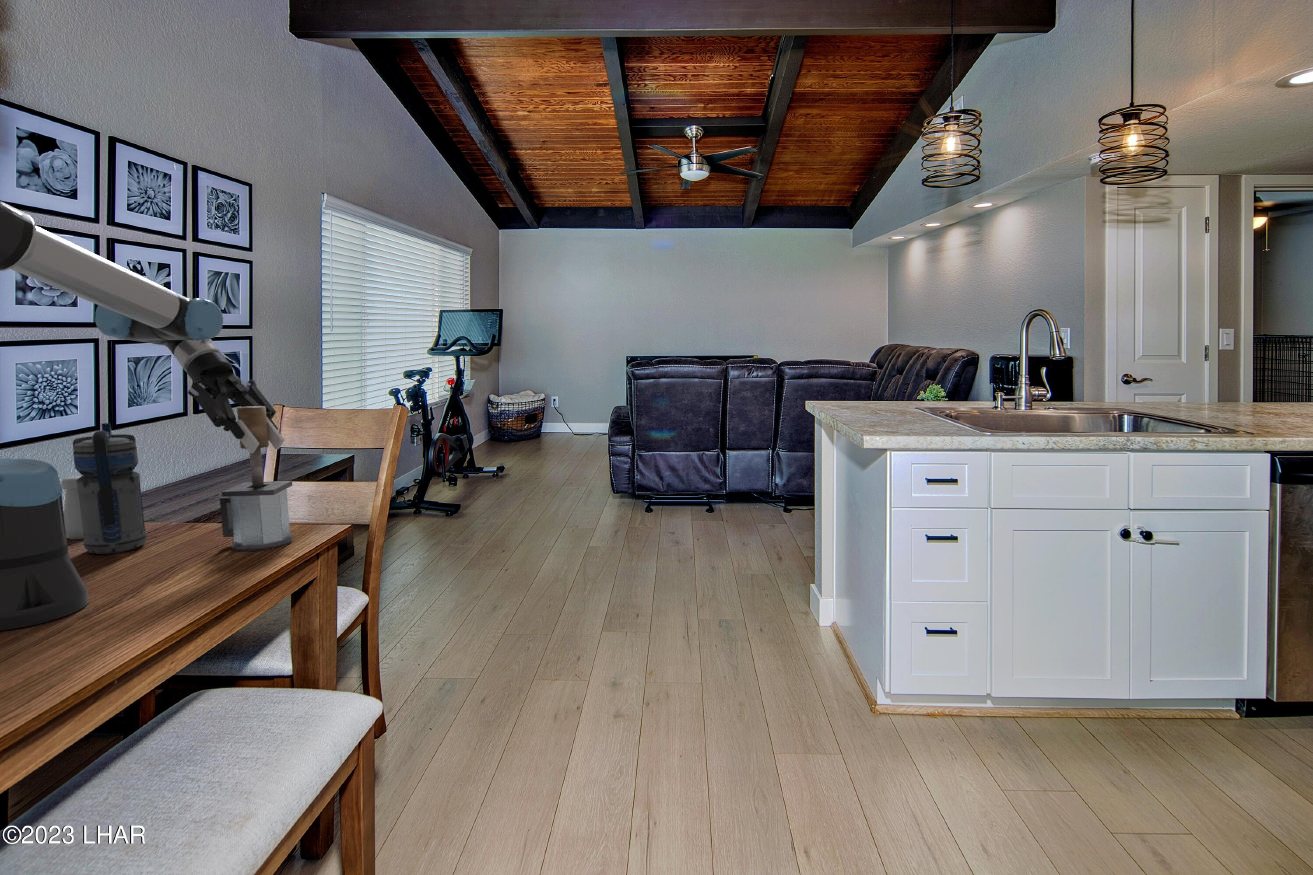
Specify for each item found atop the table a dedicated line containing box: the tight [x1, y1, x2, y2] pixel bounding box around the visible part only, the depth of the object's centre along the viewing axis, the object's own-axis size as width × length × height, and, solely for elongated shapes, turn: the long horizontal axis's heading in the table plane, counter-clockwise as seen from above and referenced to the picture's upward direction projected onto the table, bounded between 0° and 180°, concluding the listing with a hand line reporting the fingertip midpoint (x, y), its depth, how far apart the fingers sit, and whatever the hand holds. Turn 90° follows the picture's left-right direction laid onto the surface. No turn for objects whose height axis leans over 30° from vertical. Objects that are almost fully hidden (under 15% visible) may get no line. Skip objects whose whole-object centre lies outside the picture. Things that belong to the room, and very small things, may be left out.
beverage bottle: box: [72, 422, 147, 555], centre depth 145 cm, size 10×13×25 cm
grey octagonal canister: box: [219, 480, 294, 552], centre depth 149 cm, size 12×11×12 cm
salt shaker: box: [61, 475, 84, 540], centre depth 156 cm, size 6×6×13 cm
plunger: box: [236, 406, 270, 487], centre depth 147 cm, size 5×5×16 cm
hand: (267, 446), depth 146 cm, fingers closed on plunger, 5 cm apart
